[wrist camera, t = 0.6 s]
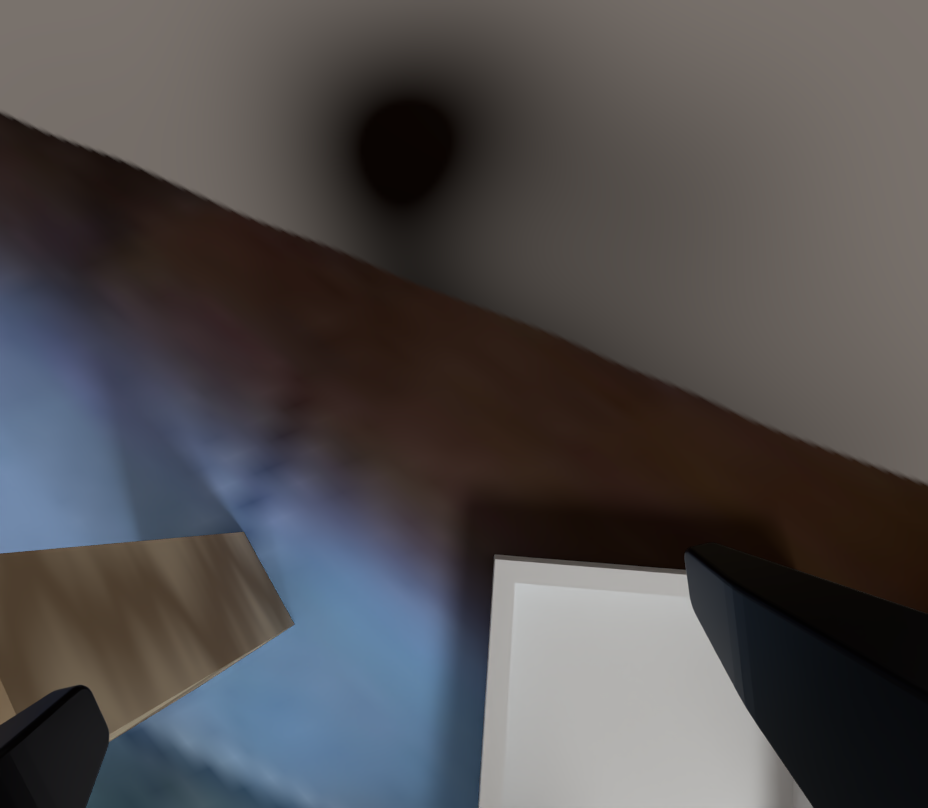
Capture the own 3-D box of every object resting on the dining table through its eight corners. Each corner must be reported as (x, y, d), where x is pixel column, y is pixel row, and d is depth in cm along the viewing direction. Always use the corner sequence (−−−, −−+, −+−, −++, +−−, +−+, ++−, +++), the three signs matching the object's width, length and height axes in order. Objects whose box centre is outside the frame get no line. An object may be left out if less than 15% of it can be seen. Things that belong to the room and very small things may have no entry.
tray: (810, 929, 22) (851, 983, 19) (472, 891, 22) (470, 939, 20) (800, 579, 24) (836, 587, 21) (494, 554, 24) (495, 559, 22)
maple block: (294, 624, 24) (36, 778, 10) (201, 685, 24) (-195, 928, 10) (243, 531, 25) (-61, 558, 11) (152, 590, 25) (-277, 692, 11)
